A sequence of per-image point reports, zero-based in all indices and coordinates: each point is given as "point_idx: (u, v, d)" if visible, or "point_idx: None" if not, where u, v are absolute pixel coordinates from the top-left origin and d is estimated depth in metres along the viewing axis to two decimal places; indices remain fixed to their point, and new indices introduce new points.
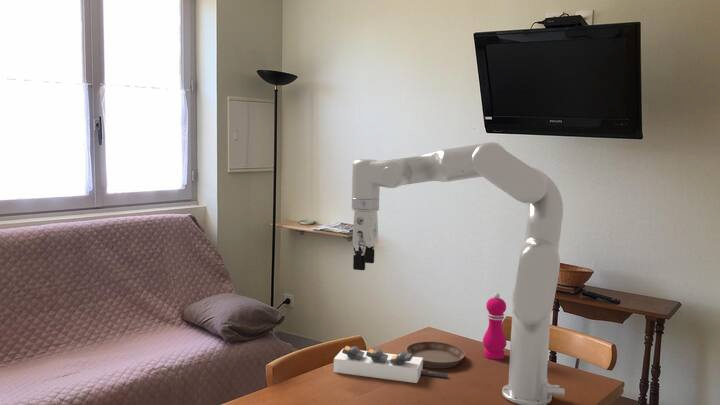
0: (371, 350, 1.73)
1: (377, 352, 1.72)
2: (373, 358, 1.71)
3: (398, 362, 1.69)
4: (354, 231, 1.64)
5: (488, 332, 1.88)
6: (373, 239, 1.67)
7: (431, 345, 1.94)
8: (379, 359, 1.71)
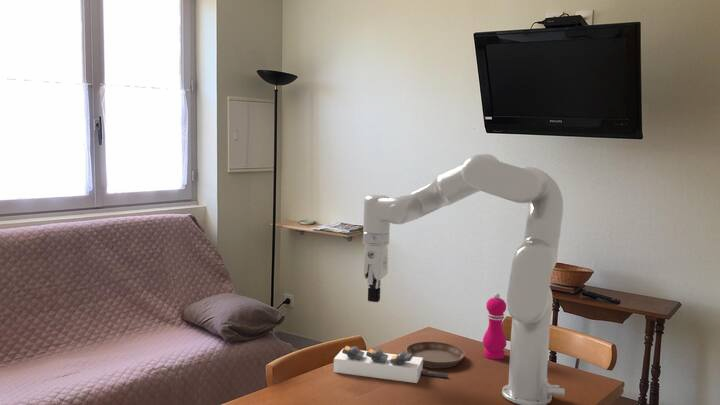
0: (371, 350, 1.73)
1: (377, 352, 1.72)
2: (373, 358, 1.71)
3: (398, 362, 1.69)
4: (365, 264, 1.71)
5: (488, 332, 1.88)
6: (383, 272, 1.74)
7: (431, 345, 1.94)
8: (379, 359, 1.71)
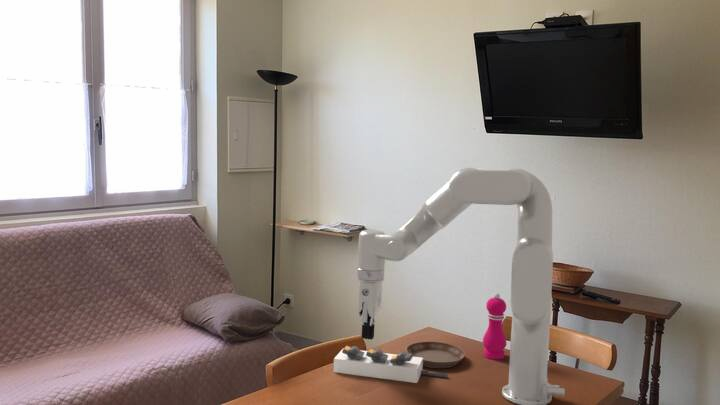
0: (371, 350, 1.73)
1: (377, 352, 1.72)
2: (373, 358, 1.71)
3: (398, 362, 1.69)
4: (359, 302, 1.68)
5: (488, 332, 1.88)
6: (377, 309, 1.70)
7: (431, 345, 1.94)
8: (379, 359, 1.71)
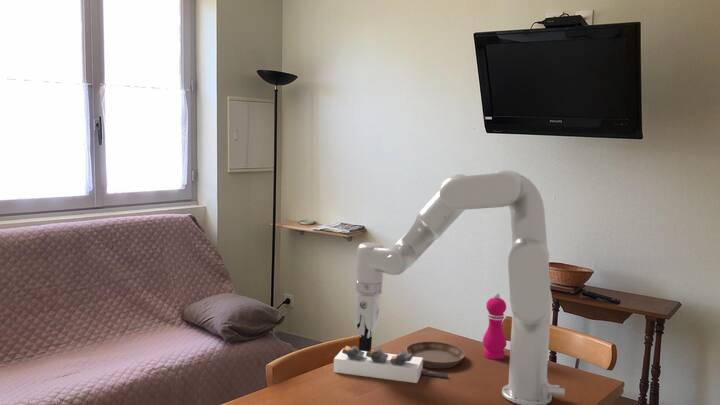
0: (371, 350, 1.73)
1: (377, 352, 1.72)
2: (373, 358, 1.71)
3: (398, 362, 1.69)
4: (357, 314, 1.68)
5: (488, 332, 1.88)
6: (375, 321, 1.71)
7: (431, 345, 1.94)
8: (379, 359, 1.71)
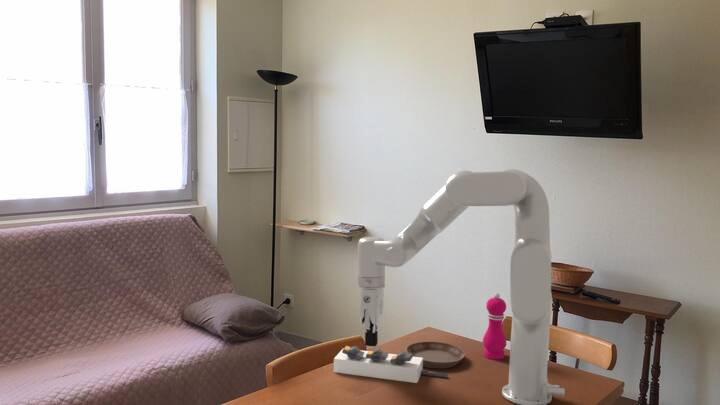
0: (370, 352, 1.74)
1: (376, 352, 1.72)
2: (374, 359, 1.71)
3: (398, 362, 1.69)
4: (361, 309, 1.68)
5: (488, 332, 1.88)
6: (380, 315, 1.70)
7: (431, 345, 1.94)
8: (379, 358, 1.71)
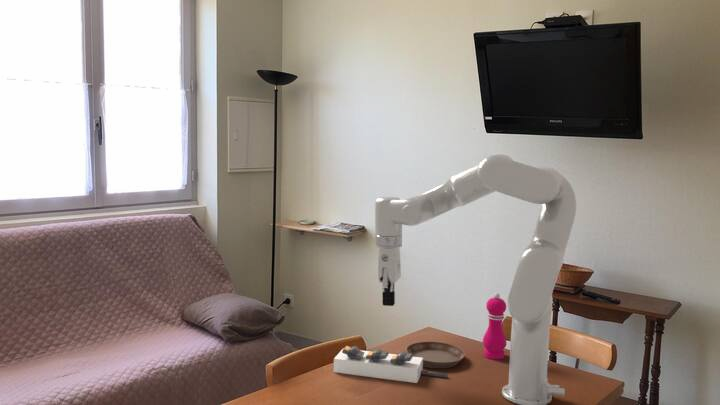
0: (370, 353, 1.74)
1: (375, 352, 1.72)
2: (374, 359, 1.71)
3: (398, 362, 1.69)
4: (379, 268, 1.69)
5: (488, 332, 1.88)
6: (397, 274, 1.71)
7: (431, 345, 1.94)
8: (379, 357, 1.71)
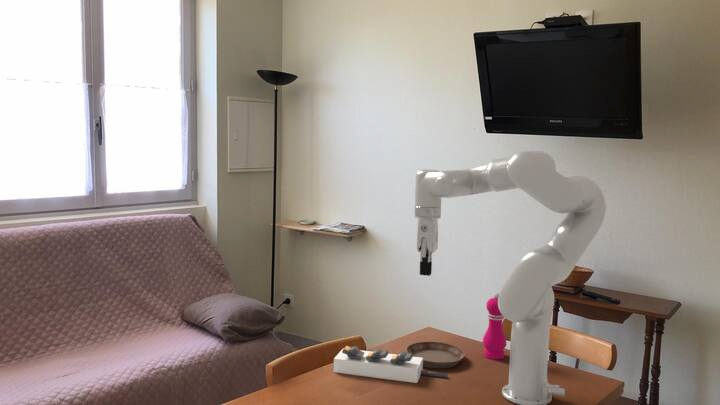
0: (370, 353, 1.74)
1: (375, 352, 1.72)
2: (374, 359, 1.71)
3: (398, 362, 1.69)
4: (418, 237, 1.74)
5: (488, 332, 1.88)
6: (435, 245, 1.76)
7: (431, 345, 1.94)
8: (379, 357, 1.71)
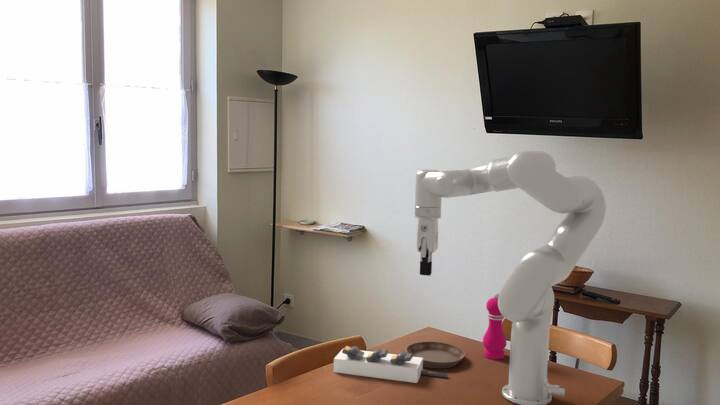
0: (370, 354, 1.74)
1: (374, 352, 1.72)
2: (374, 359, 1.71)
3: (398, 362, 1.69)
4: (418, 237, 1.74)
5: (488, 332, 1.88)
6: (435, 245, 1.76)
7: (431, 345, 1.94)
8: (379, 356, 1.71)
